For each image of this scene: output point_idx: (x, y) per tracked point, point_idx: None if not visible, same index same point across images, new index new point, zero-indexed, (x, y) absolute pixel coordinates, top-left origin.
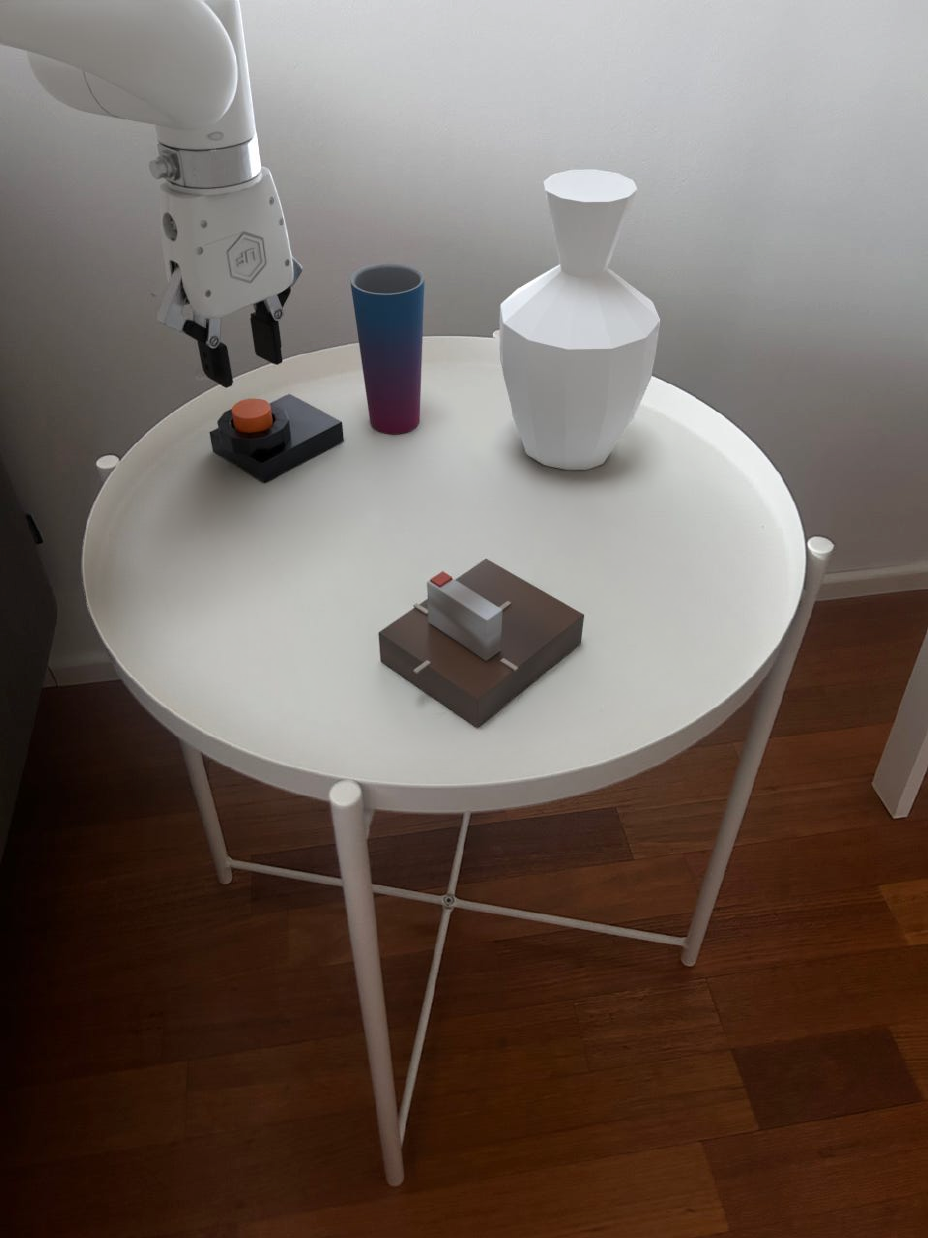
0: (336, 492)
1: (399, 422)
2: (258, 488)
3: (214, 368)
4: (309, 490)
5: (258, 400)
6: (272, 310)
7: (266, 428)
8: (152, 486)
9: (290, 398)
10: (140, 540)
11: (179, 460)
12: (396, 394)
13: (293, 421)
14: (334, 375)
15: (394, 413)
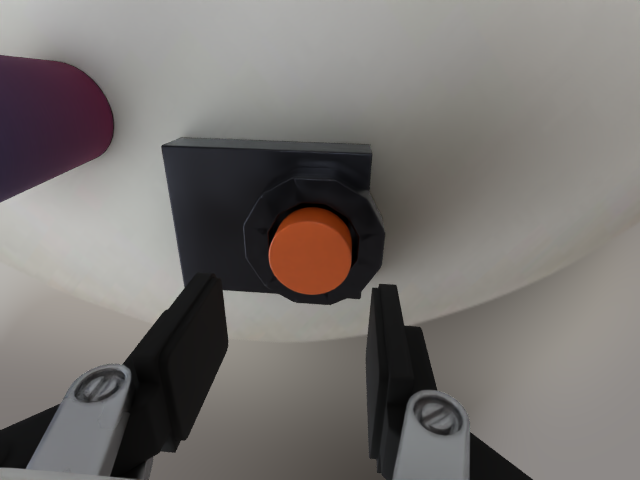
0: (299, 6)
1: (62, 69)
2: (387, 141)
3: (417, 343)
4: (331, 58)
5: (279, 269)
6: (110, 409)
7: (310, 208)
8: (487, 276)
9: (192, 275)
10: (626, 177)
11: (409, 297)
12: (8, 67)
13: (233, 217)
14: (85, 294)
15: (54, 74)
